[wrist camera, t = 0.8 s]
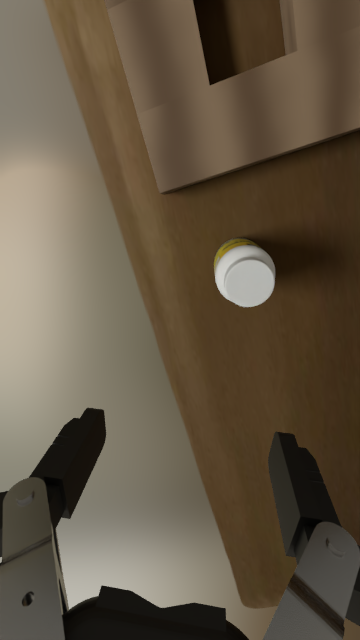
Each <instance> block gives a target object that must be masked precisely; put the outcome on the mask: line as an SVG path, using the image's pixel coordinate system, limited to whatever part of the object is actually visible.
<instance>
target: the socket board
mask: <svg viewBox="0 0 360 640" xmlns="http://www.w3.org/2000/svg"><path fill="white" fill-rule="evenodd" d="M104 1H105V4H106V8H107V11H108V15H109V18H110V22H111V25H112V29H113V32H114V36H115V39H116V43H117V46H118V50H119V53H120V57H121V60H122V64H123V67H124V71H125V74H126V78H127V81H128V85H129V88H130V92H131V95H132V99H133V102H134V106H135V109H136V113H137V116H138V119H139V123H140V126H141V130H142V133H143V137H144V140H145V144H146V147H147V151H148V154H149V158H150V161H151V165H152V168H153V172H154V175H155V179H156V182H157V186H158V189H159V193H161V194H167V193H170V192H173V191H176V190H179V189H182V188H185V187H188V186H191V185H194V184H197V183H200V182H203V181H206V180H209V179H212V178H215V177H218V176H221V175H224V174H227V173H231V172H234V171H237V170H240V169H243V168H246V167H249V166H252V165H255V164H258V163H261V162H264V161H267V160H270V159H273V158H276V157H279V156H282V155H285V154H288V153H291V152H295V151H298V150H301V149H304V148H307V147H310V146H313V145H316V144H319V143H322V142H325V141H328V140H331V139H334V138H337V137H340V136H343V135H346V134H349V133H352V132H356V131H359V130H360V0H280V8H281V17H282V26H283V36H284V45H285V54H286V56H283V57H281V58H278V59H276V60H273V61H271V62H268V63H266V64H263V65H261V66H258V67H255V68H253V69H250V70H248V71H245V72H243V73H240V74H238V75H235V76H233V77H230V78H228V79H225V80H223V81H220V82H218V83H215V84H213V85H209V79H208V74H207V69H206V64H205V59H204V54H203V49H202V44H201V39H200V34H199V29H198V24H197V19H196V14H195V9H194V3H193V0H104Z"/></svg>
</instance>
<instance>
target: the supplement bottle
mask: <svg viewBox="0 0 360 640" xmlns="http://www.w3.org/2000/svg"><path fill="white" fill-rule="evenodd" d="M214 270H215V280H216V284H217V287H218V289H219V291H220V292H221V294H222V295H223V296H224V297H225V298H226V299H228V300H230V301H232V302H234V303H235V304H237V305H239V306H243V307H253V306H256V305H259V304H261V303H263V302H264V301H265V300H267V299H268V298H269V296H270V295H271V293H272V291H273V289H274V284H275V266H274V263H273V261H272V259H271V257H270V256H269V255H268V254H267V252H265V251H264V250H263V249H262V248H260V247H259V246H258V245H257V244H255V243H254V242H252V241H251V240H248V239H245V238H235V239H231V240H229V241H227V242H225V243H224V244H223V245H222V246H221V247H220V248H219V249H218V251H217V253H216V256H215V259H214Z"/></svg>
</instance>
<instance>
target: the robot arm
mask: <svg viewBox="0 0 360 640" xmlns="http://www.w3.org/2000/svg"><path fill="white" fill-rule="evenodd" d="M104 417H105V416H104V410H102V409H94V408H87V409H86V410H85V411H84V413H83V414H82V416H81V417H80V419H79V418H73V419H72V420H71V421H69V422H68V423H67V424H66V425H64V427H63V428H62V430H61V431H60V433H59V434H58V437H56V439H55V440H54V442H53V444H52V445H51V446H50V448H49V449H48V450H47V452H46V454H45V455H44V456H43V458H42V459H41V461H40V462H39V464H38V465H37V467H36V468H35V470H34V471H33V472H32V474H31V475H30V477H29V478H27V479H24V480H22V481H20V482H18V483H17V484H15V485H14V486H13V487H12V488H11V489H10V490H9V491H6V492H1V493H0V557H2V562H1V563H0V640H249V639H248V638H247V637H246V636H245V635H244V634H243V633H242V632H241V631H240V630H239V629H238V628H237V627H236V626H234V625H233V624H232V623H230V622H228V621H227V620H226V609H225V608H219V607H214V606H209V605H203V604H198V603H190V604H185V605H178V606H172V607H167V608H159V607H157V606H156V605H154V604H152V603H151V602H149V601H147V600H145V599H144V598H142V597H140V596H139V595H137V594H135V593H134V592H132V591H129V590H123V589H118V588H112V587H107V586H101V589H100V593H99V596H97V597H93V598H90V599H87V600H85V601H83V602H81V603H79V604H77V605H76V606H74V607H72V608H71V609H70V610H69V607H68V601H67V595H66V590H65V585H64V579H63V572H62V566H61V559H60V552H59V545H58V539H57V532H56V527H57V525H58V523H59V521H60V519H61V517H62V518H68V519H70V518H71V515H72V513H73V511H74V509H75V507H76V505H77V503H78V501H79V498H80V496H81V494H82V492H83V490H84V488H85V485H86V483H87V481H88V479H89V477H90V474H91V472H92V470H93V468H94V466H95V463H96V461H97V459H98V457H99V455H100V453H101V450H102V448H103V446H104V443H105V438H106V427H105V418H104ZM268 466H269V473H270V478H271V483H272V488H273V493H274V498H275V503H276V508H277V513H278V518H279V523H280V528H281V533H282V538H283V543H284V548H285V553H286V556H291V557H296V561H297V568H296V570H295V572H294V574H293V576H292V578H291V580H290V582H289V584H288V586H287V588H286V590H285V592H284V595H283V597H282V599H281V601H280V603H279V605H278V608H277V610H276V612H275V614H274V616H273V618H272V621H271V623H270V625H269V627H268V629H267V632H266V634H265V636H264V638H263V640H342V639H343V636H344V626H343V624H344V620H345V618H347V619H348V620H350V621H352V622H354V623H356V624H357V625H359V626H360V546H359V545H357V544H356V542H355V540H354V539H353V538H352V536H351V535H350V534H349V533H348V532H347V531H346V530H344V529H343V528H342V526H341V524H340V522H339V520H338V517H337V514H336V512H335V509H334V507H333V504H332V502H331V499H330V496H329V494H328V491H327V489H326V486H325V484H324V483H323V478H322V476H321V474H320V471H319V468H318V466H317V463H316V460H315V459H314V457H313V456H312V455H311V454H310V452H309V451H308V450H307V449H306V448H301V447H298V444H297V442H296V439H295V436H294V435H293V434H290V433H282V432H275V434H274V437H273V441H272V445H271V449H270V453H269V459H268Z"/></svg>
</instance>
